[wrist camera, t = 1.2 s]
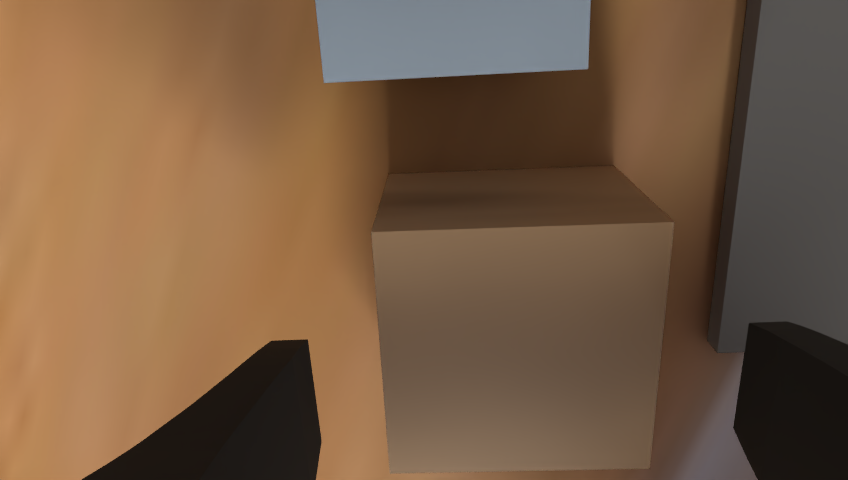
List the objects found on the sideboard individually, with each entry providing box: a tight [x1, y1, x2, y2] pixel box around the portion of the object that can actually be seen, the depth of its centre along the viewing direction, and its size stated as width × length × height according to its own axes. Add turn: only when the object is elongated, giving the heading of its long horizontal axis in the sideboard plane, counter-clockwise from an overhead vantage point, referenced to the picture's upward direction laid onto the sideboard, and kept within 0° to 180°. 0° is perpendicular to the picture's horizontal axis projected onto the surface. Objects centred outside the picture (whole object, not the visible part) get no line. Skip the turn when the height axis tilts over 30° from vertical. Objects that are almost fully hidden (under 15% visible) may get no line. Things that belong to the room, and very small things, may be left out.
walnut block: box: [371, 165, 674, 473], centre depth 13 cm, size 5×5×4 cm
